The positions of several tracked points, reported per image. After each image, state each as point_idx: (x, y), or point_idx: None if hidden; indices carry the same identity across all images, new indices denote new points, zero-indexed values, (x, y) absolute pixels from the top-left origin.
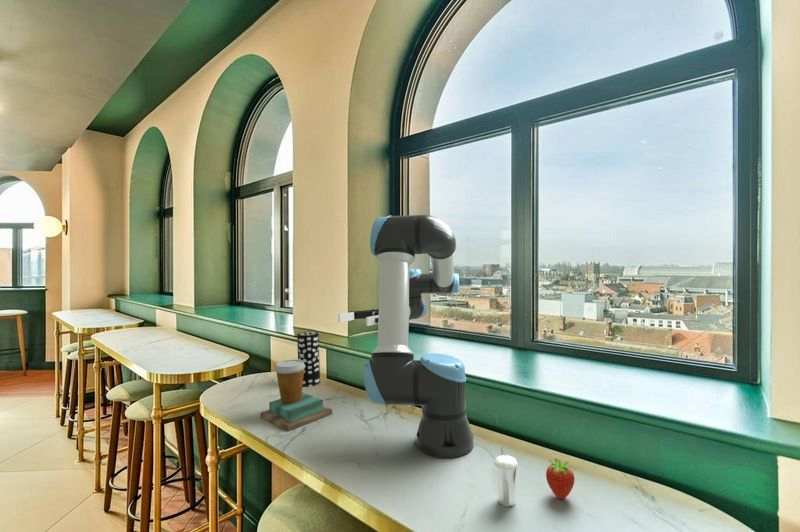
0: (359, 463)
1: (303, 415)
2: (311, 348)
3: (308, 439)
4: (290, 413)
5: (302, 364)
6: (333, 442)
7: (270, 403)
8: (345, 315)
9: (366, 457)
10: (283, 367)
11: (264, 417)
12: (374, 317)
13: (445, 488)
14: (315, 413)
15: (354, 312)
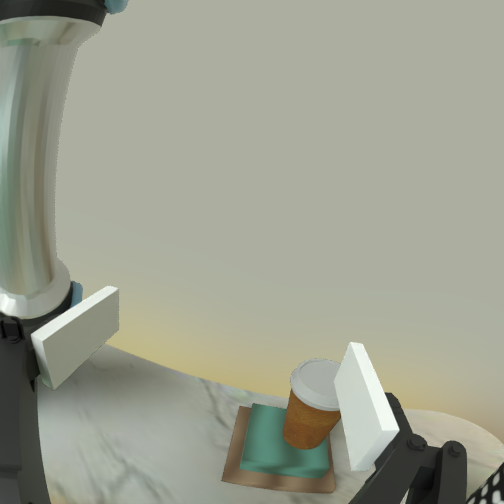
0: (91, 366)
1: (246, 432)
2: (485, 495)
3: (188, 401)
4: (252, 405)
5: (300, 384)
6: (146, 400)
7: None
8: (356, 380)
9: (86, 375)
10: (310, 360)
11: None
12: (76, 312)
13: None
14: (239, 451)
15: (396, 447)
